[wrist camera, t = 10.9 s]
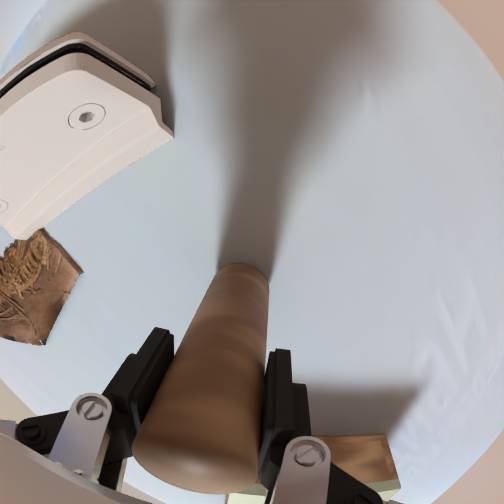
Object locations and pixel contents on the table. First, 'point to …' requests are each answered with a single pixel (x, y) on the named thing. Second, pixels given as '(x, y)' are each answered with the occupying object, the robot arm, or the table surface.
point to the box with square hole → (360, 457)
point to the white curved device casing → (70, 128)
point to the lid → (253, 497)
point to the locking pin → (212, 392)
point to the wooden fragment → (34, 287)
